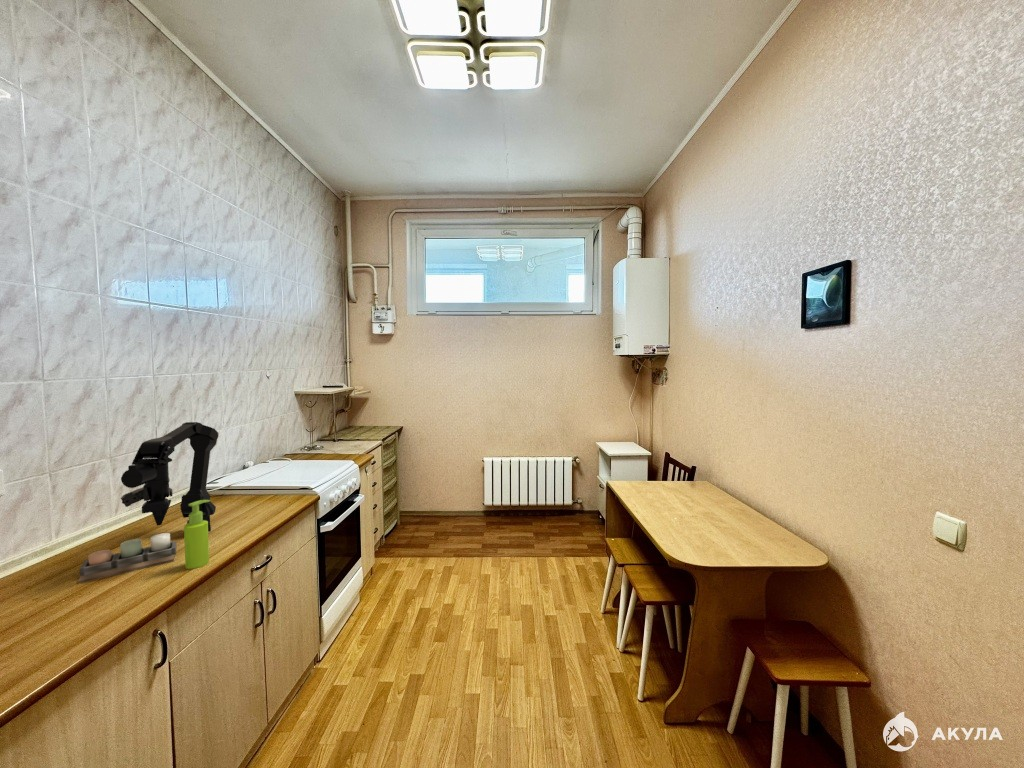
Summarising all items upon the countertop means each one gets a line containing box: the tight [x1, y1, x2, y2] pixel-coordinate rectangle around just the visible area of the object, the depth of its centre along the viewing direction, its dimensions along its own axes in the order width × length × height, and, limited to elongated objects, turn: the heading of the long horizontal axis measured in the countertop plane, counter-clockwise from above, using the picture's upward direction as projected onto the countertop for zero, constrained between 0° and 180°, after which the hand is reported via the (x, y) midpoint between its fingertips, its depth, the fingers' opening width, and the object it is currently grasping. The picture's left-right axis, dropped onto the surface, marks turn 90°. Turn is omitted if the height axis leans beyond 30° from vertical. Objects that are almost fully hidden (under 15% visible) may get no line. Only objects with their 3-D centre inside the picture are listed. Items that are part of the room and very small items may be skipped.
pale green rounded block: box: [120, 538, 143, 558], centre depth 125 cm, size 5×5×4 cm
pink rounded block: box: [87, 549, 112, 566], centre depth 120 cm, size 5×5×4 cm
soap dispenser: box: [183, 499, 212, 570], centre depth 124 cm, size 6×7×20 cm
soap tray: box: [77, 540, 178, 584], centre depth 125 cm, size 22×14×3 cm, turn 128°
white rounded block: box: [150, 532, 171, 551], centre depth 129 cm, size 5×5×4 cm
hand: (159, 524), depth 129 cm, fingers closed
